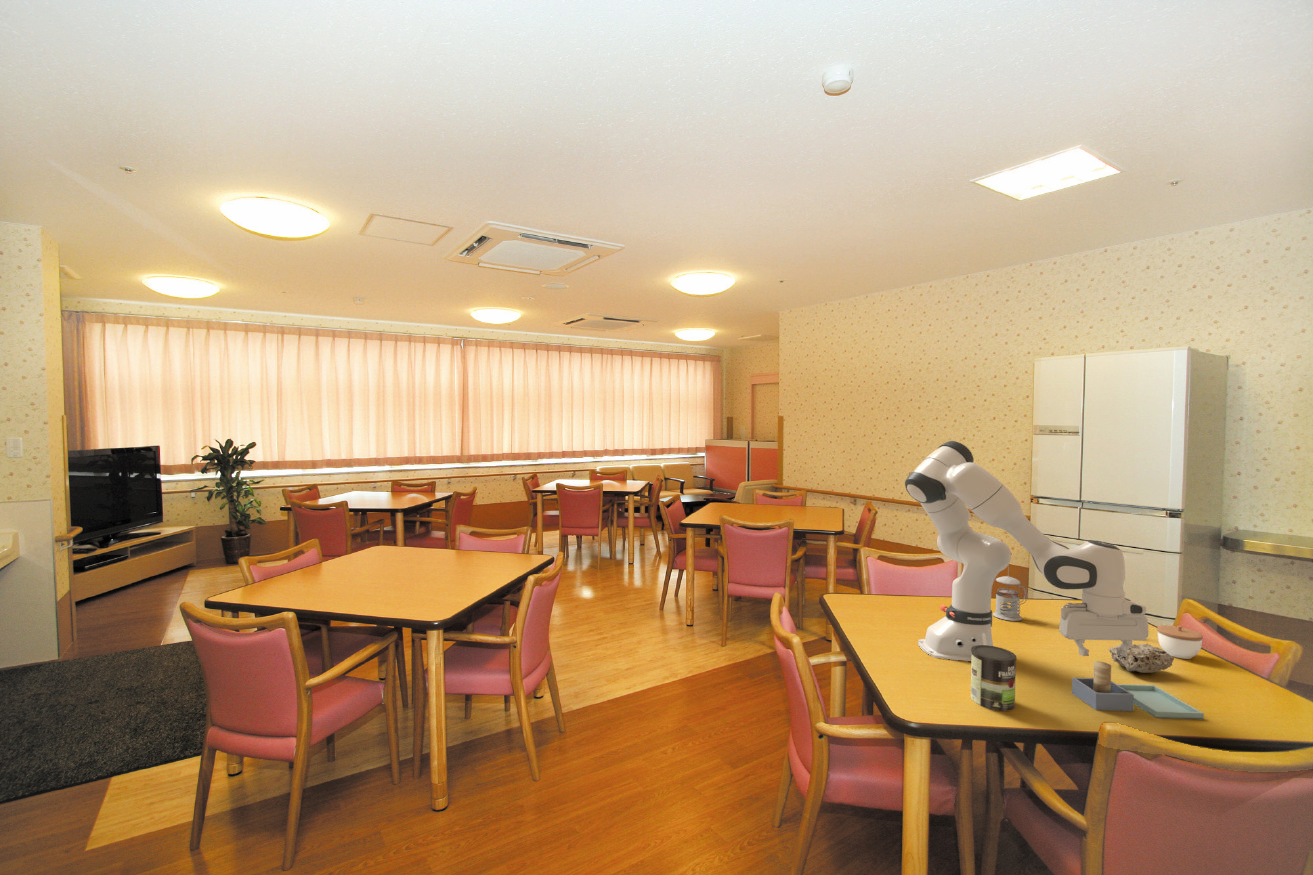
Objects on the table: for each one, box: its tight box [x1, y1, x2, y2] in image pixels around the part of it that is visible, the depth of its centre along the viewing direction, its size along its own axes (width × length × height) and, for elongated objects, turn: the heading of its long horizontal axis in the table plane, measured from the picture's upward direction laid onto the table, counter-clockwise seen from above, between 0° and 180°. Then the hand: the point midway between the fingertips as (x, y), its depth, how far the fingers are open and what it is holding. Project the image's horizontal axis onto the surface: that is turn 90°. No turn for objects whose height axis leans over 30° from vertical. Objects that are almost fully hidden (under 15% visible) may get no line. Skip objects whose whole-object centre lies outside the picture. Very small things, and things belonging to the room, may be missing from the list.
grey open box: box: [1071, 677, 1135, 712], centre depth 151 cm, size 9×9×5 cm
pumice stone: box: [1108, 643, 1175, 674], centre depth 170 cm, size 14×12×8 cm
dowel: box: [1093, 660, 1112, 693], centre depth 151 cm, size 4×4×10 cm
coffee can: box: [970, 645, 1017, 712], centre depth 150 cm, size 10×10×14 cm
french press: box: [992, 553, 1029, 622], centre depth 218 cm, size 10×12×25 cm
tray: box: [1116, 683, 1205, 721], centre depth 150 cm, size 11×15×2 cm
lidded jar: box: [1156, 624, 1203, 660], centre depth 183 cm, size 11×11×9 cm
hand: (1102, 655), depth 150 cm, fingers open, 8 cm apart
